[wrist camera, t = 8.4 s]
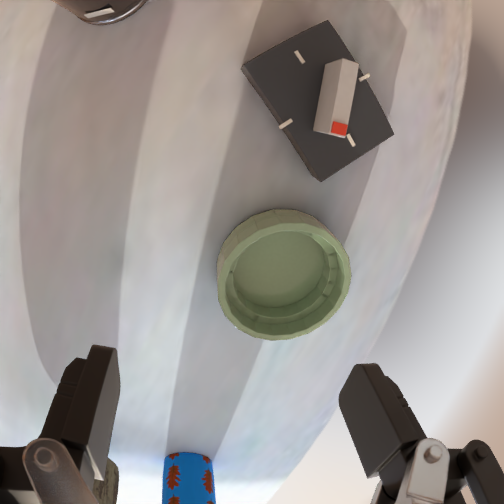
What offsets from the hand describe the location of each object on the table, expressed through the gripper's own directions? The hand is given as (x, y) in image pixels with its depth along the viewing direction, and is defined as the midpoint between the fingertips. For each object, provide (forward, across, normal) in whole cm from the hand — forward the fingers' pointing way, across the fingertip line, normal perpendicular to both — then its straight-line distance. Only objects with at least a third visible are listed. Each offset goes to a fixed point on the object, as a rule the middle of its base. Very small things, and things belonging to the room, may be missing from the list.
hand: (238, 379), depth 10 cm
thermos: (+26, -1, +59) cm, 64 cm away
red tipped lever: (+23, -8, -11) cm, 27 cm away
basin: (+26, -8, +8) cm, 29 cm away
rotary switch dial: (+26, -8, -11) cm, 30 cm away
